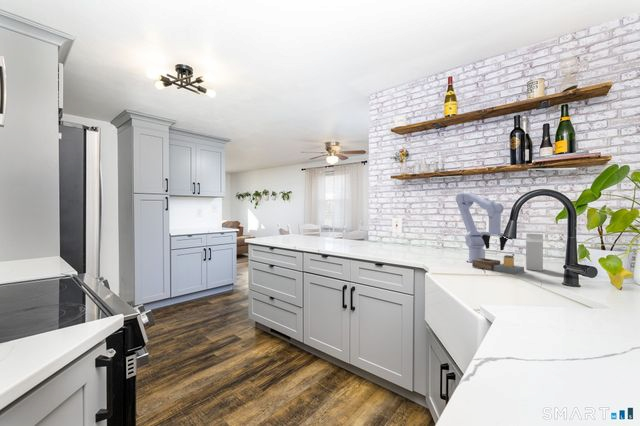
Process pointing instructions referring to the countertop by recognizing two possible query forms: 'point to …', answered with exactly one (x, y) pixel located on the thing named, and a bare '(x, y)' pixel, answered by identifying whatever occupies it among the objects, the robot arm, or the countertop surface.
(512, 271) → the lower jack
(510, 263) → the plug
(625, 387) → the countertop surface
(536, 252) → the milk carton
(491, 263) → the upper jack
